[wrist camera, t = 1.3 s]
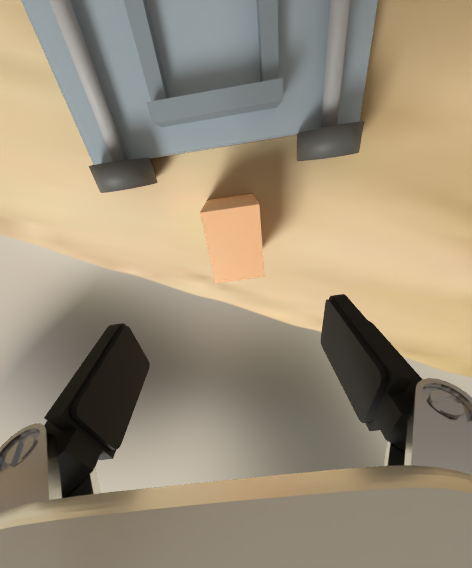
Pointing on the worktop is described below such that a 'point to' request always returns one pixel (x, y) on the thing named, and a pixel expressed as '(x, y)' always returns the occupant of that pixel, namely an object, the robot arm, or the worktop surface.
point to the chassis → (206, 76)
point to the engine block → (234, 237)
